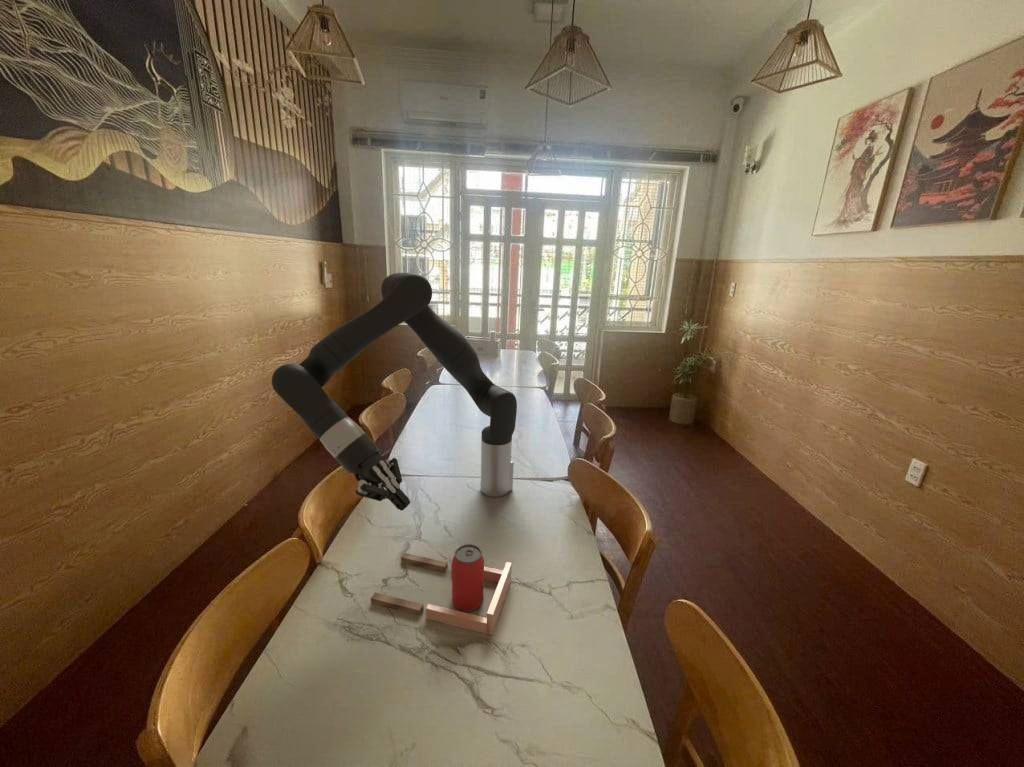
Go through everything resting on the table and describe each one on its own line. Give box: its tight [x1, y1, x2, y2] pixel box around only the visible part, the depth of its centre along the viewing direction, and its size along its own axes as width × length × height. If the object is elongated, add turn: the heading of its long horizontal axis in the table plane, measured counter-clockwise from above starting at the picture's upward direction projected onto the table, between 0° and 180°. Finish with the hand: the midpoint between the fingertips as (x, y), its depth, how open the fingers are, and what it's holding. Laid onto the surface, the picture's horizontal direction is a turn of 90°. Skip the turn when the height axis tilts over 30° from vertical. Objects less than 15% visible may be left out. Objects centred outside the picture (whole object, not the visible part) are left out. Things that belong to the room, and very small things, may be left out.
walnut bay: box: [370, 552, 449, 617], centre depth 90 cm, size 11×14×2 cm
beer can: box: [451, 543, 485, 612], centre depth 85 cm, size 7×7×12 cm
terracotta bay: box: [425, 561, 513, 636], centre depth 86 cm, size 14×14×5 cm
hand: (406, 506), depth 85 cm, fingers closed
